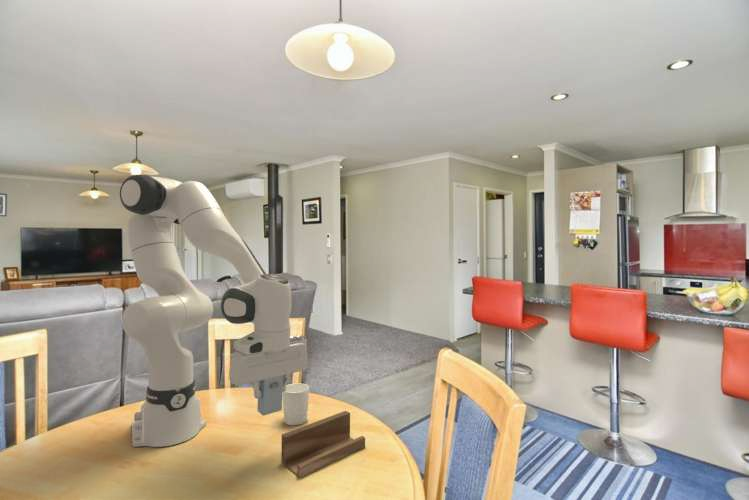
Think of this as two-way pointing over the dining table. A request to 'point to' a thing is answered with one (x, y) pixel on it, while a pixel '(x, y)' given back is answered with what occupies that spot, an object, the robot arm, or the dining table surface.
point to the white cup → (295, 403)
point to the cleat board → (319, 444)
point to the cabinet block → (270, 395)
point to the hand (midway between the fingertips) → (270, 394)
